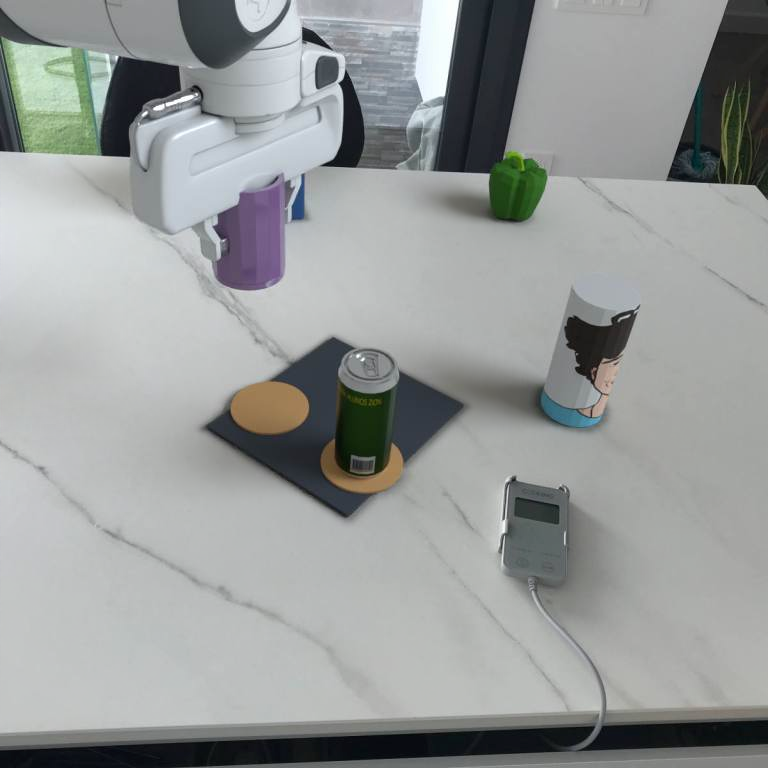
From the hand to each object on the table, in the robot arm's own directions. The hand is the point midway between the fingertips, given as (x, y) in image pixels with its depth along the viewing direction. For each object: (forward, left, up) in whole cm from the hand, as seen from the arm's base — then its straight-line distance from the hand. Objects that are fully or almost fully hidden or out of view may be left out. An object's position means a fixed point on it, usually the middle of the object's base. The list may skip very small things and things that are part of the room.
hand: (248, 238), depth 66 cm
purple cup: (0, 0, -3) cm, 3 cm away
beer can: (+2, -12, -21) cm, 24 cm away
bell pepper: (+59, +3, -21) cm, 63 cm away
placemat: (+6, -6, -21) cm, 23 cm away
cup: (+24, -24, -21) cm, 40 cm away
